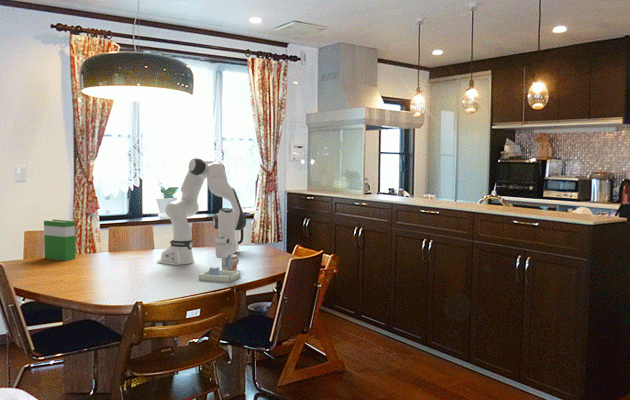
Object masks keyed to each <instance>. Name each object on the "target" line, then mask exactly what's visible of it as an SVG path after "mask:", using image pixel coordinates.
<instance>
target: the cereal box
mask: <svg viewBox="0 0 630 400" xmlns="http://www.w3.org/2000/svg"><path fill="white" fill-rule="evenodd" d="M75 223H76V222H75V221H74V220H66V219H65V220H64V219H52V220H43V235H44V237H43V238H44V240H43V241H44V259H45V258H47V259H46V260H53V259H54V260H55V261H61V260H64V262H67V260H69V261H73V260H76V231H75V230H76V229H75V227H76V226H75V225H76V224H75ZM72 259H73V260H72Z"/></svg>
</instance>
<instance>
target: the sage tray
mask: <svg viewBox="0 0 630 400" xmlns="http://www.w3.org/2000/svg"><path fill="white" fill-rule="evenodd" d="M198 276H199V277H198V280H199V281H202V282H203V281H205V282H216V283H217V282H218V283H230V284H231V283H232V282H234V281H236V280H238V279H239V277H240V278H241V271H238V270H237V271H224V270H222V269H219V276H215V275H209V269H208V270H206V271H204V272H202V273H200V274H198Z"/></svg>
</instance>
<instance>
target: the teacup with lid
mask: <svg viewBox="0 0 630 400" xmlns="http://www.w3.org/2000/svg"><path fill="white" fill-rule="evenodd" d="M226 257H227V256H226ZM231 257H232V266H231V267H229V268H226V267H222V266H221V270H224V271H237V272H238V269H237V268H238V264H239V263H240V262H239V258H238V255H237V254H235V253H233V254H232V256H231Z"/></svg>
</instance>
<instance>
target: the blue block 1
mask: <svg viewBox="0 0 630 400" xmlns="http://www.w3.org/2000/svg"><path fill="white" fill-rule="evenodd" d="M208 270H209V275H215V276H219V270H220V267H219V266H211V267H209V269H208Z"/></svg>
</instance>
